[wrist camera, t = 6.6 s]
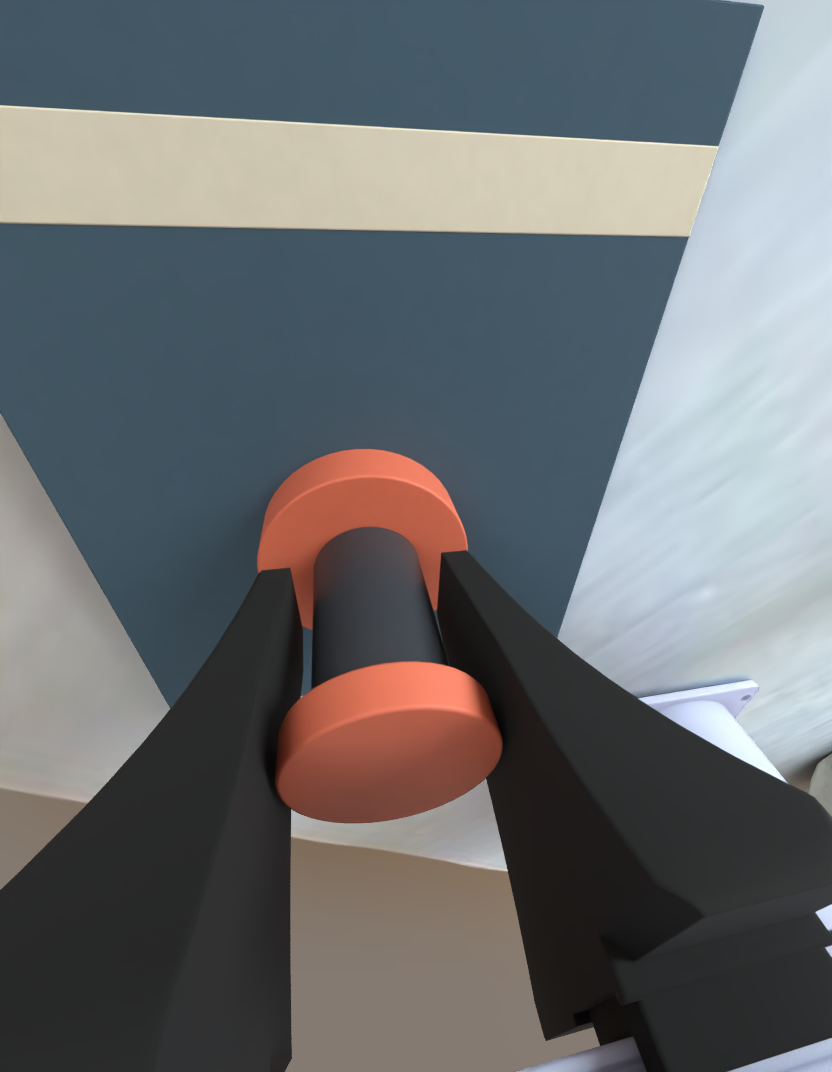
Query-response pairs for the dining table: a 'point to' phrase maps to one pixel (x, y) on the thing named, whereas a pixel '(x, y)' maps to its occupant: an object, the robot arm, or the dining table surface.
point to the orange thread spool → (374, 643)
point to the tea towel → (339, 268)
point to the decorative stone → (823, 783)
